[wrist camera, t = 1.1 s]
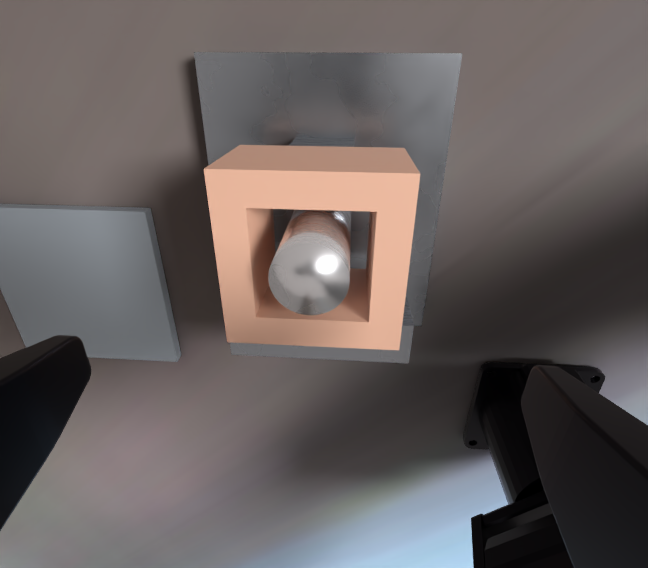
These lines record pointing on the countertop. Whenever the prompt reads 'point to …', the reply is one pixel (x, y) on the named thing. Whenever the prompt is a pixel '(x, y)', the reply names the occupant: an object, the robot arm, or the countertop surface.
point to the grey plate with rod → (338, 131)
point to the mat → (87, 279)
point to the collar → (312, 194)
